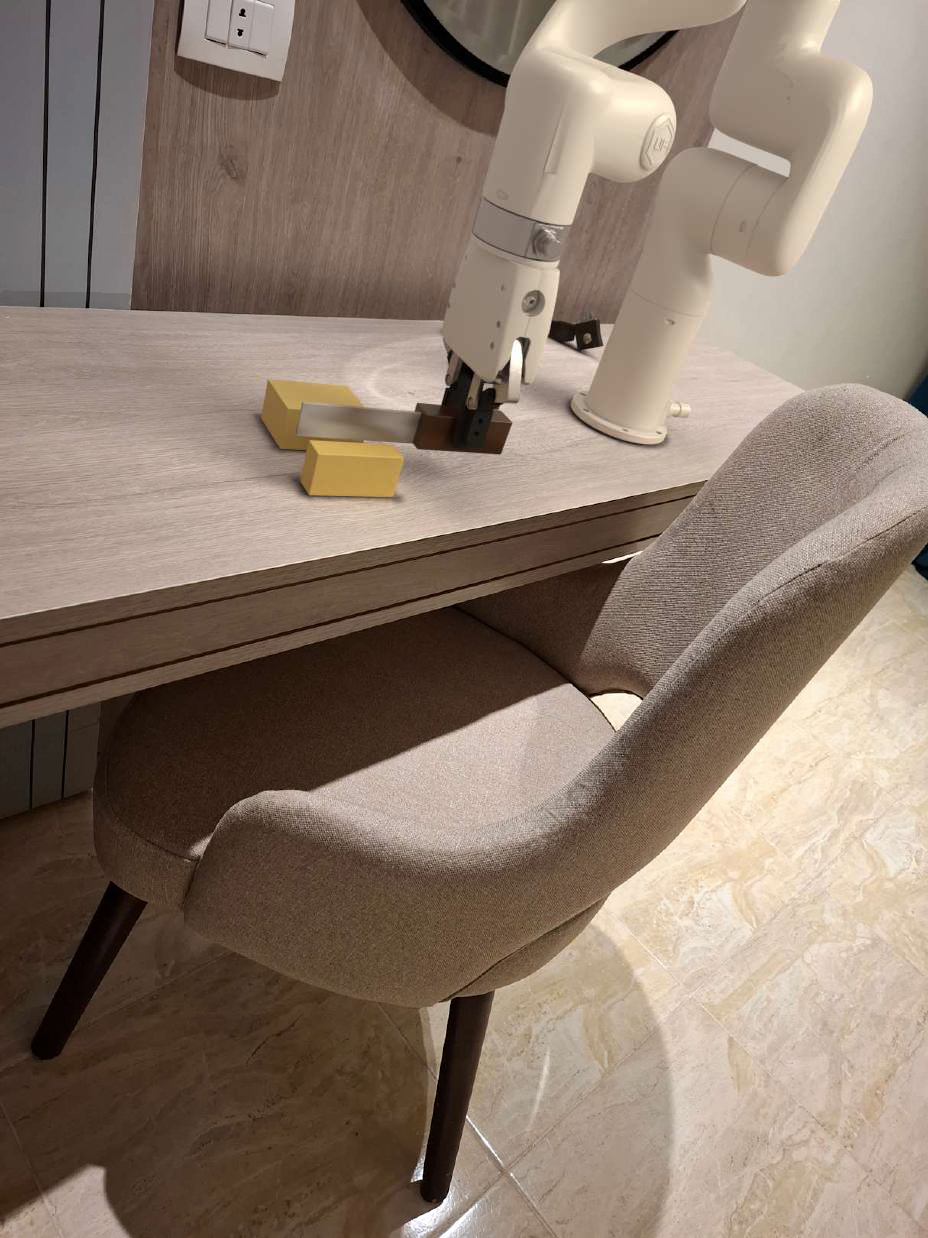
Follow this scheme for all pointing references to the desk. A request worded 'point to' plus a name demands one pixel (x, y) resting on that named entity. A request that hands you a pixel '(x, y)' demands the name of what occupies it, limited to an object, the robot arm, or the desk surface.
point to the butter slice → (351, 469)
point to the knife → (397, 426)
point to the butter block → (286, 406)
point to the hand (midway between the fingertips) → (458, 436)
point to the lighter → (578, 332)
